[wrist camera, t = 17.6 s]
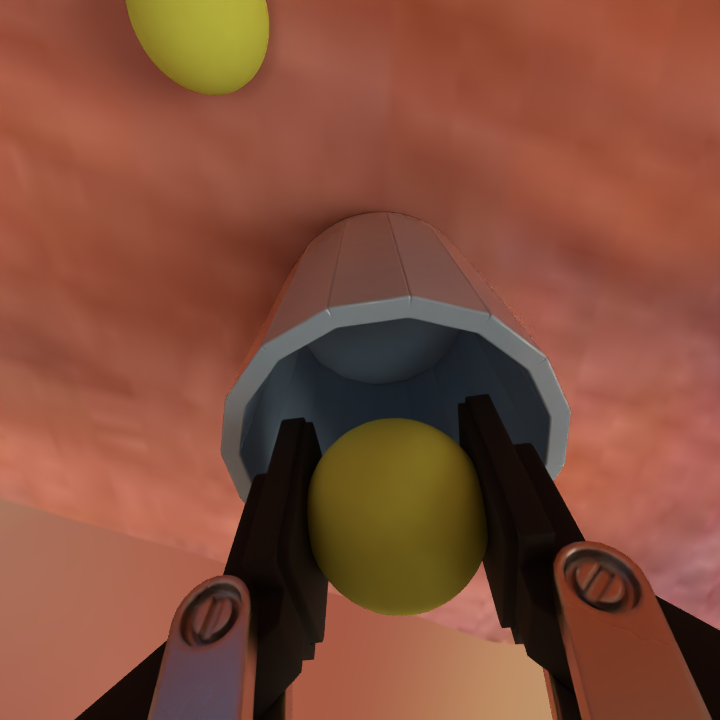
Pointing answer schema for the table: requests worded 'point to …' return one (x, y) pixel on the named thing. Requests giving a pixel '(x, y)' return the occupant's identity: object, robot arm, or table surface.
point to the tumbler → (387, 348)
